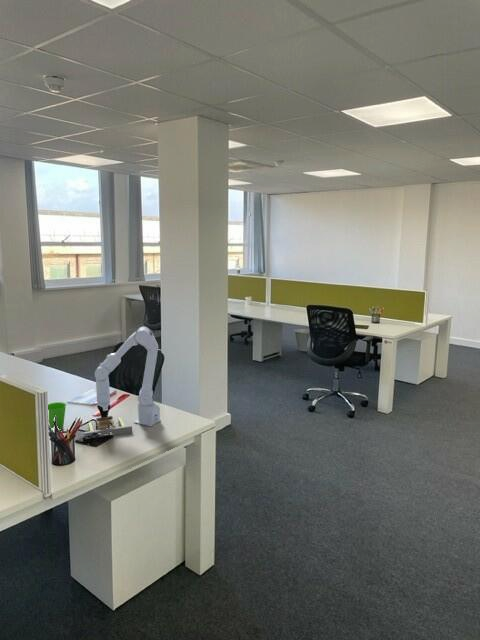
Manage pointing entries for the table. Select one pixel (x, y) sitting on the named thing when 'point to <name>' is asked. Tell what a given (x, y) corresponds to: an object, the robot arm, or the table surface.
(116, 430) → the bay
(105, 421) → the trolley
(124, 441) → the table surface
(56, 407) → the cup
